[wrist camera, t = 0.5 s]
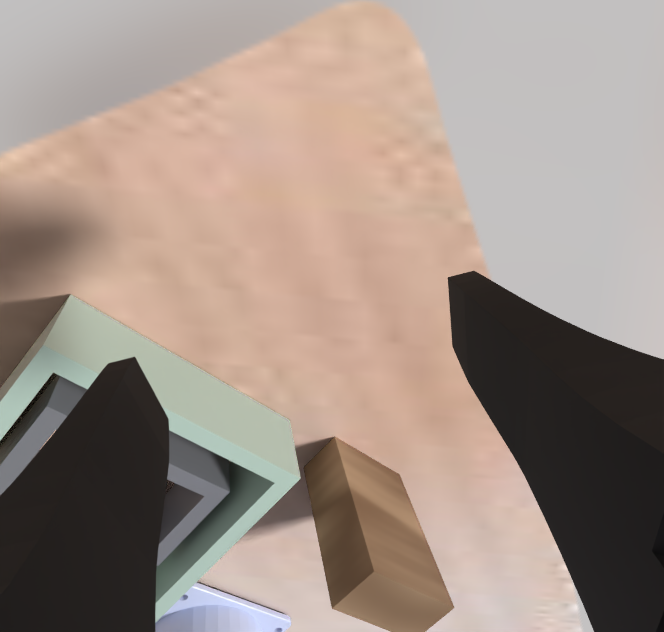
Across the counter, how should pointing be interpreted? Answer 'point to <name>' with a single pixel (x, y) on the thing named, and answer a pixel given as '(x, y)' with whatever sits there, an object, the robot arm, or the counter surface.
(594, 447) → the robot arm
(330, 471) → the wood grain brick
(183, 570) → the sage green storage tray
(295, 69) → the counter surface
